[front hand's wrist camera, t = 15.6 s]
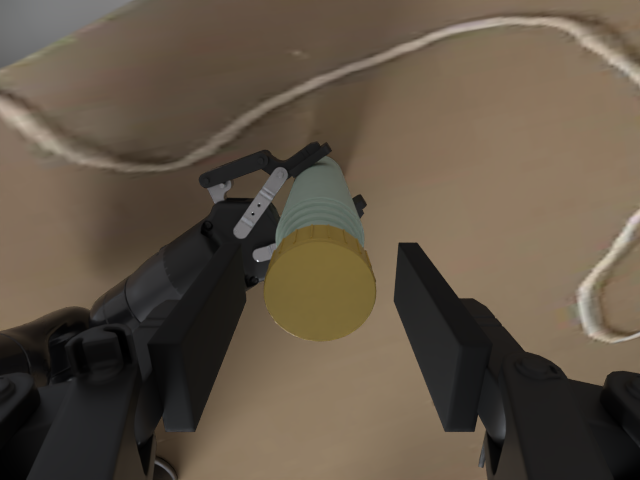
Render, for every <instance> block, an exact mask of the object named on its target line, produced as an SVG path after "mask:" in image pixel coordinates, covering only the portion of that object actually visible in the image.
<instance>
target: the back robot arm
mask: <svg viewBox="0 0 640 480" xmlns="http://www.w3.org/2000/svg"><path fill="white" fill-rule="evenodd" d="M331 151H332V150H331V148H330V146H329V145H328V143H327V142H326V143H324V144H323V145H321V146H320V144H319V143H318V141H316V142H312V143H310V144H309V145H307V146H306V147H304V148H303V149H302V150H300V151H299V152H297V153H296V154H295V155H293V156H292V157H290V158H289V159H288V160H285V161H282V160H279V159H277V158H276V157H274V156H273V155H272V154H271V153H270V151H268V150H262V151H259V152H256V153H254V154H251V155H248V156H246V157H243V158H240V159H238V160H235V161H232V162H230V163H227V164H224V165H222V166H219V167H216V168H214V169H211V170H209V171H207V172H205V173H204V174H202V175H201V176H200V177H199V183H200V185H201V186H202V187H204V188H207V189H208V191H209V193H210V195H211V197H212V199H213V201H214V203H215V205H214V206H213V208H212V210H211V212H210V214H209V215H208V216H207V217H206V218H204V219H203V220H202V221H200V222H199V223H198V224H196V225H195V226H193V227H192V228H191V229H189V230H188V231H186V232H185V233H184V234H182V235H181V236H179V237H178V238H177V239H175V240H174V241H173V242H171V243H170V244H168V245H165V246H164V247H162V248H161V249H160V250H159V251H158V252H157V253H156V254H154V255H153V256H151V257H150V258H149V259H148V260H147V261H145V262H144V263H143V264H142V265H141V266H140V267H139V268H138V269H137V270H136V271H135V272H134V273H133V274H131V275H130V276H128V277H127V278H126V279H124V280H123V281H121V282H120V283H119V284H117V285H116V286H114V287H113V288H112V289H110V290H109V291H107V292H106V293H105V294H103V295H102V296H101V297H100V298H99V299H98V300H97V301H96V302H95V303H94V304H93V306H92V308H91V310H89V309H86V308H83V307H78V306H73V307H66V308H62V309H59V310H57V311H54V312H51V313H49V314H47V315H45V316H43V317H40V318H38V319H36V320H34V321H32V322H29V323H26V324H23V325H21V326H17V327H14V328H11V329H7V330H3V331H0V376H1V375H5V374H11V373H17V372H19V373H28V374H30V375H31V376H32V377H33V378H34V380H35V383H36V386H37V388H39V387H44V386H48V385H53V384H58V383H62V382H67V381H71V380H72V379H73V377H74V376H73V373H72V369H71V366H70V363H69V360H68V357H67V353H66V350H65V347H64V346H65V345H66V344H67V343H68V342H69V341H70V339H72V338H73V337H75V336H76V335H78V334H79V333H81V332H83V331H86V330H88V329H90V328H93V327H97V326H101V325H105V324H116V323H118V324H123V325H127V326H128V327H129V328H131V331H132V333H133V332H134V330H135V329H136V328H138V327H139V325H140V323H141V322H142V321H143V320H145V318H146V316H147V315H148V314H149V313H150V312H151V310H152V309H153V308H154V307H156V306H158V305H159V304H161V303H162V302H164V301H166V300H180V299H181V298H182V297H183V295H184V294H185V293H186V291H187V290H188V289H189V287H190V286H191V285H192V283H193V282H194V281H195V279H196V278H197V277H198V275H199V274H200V273H201V271H202V270H203V269H204V267H205V266H206V265H207V263H208V262H209V261H210V259H211V258H212V257H213V255H214V254H215V253H216V251H217V250H218V249H219V247H220V246H221V245H222V243H241V245H242V256H243V268H244V280H245V291H247V290H249V289H250V288H252V287H254V286H255V285H256V284H258V283H259V282H262V281H264V279H265V276H266V273H267V270H268V267H269V263H270V260H271V257H272V254H273V251H274V250H276V230H277V226H278V223H279V221H280V217H279V215H278V212H277V210H276V208H275V206H274V205H273V204H272V202H271V201H272V199H273V198H274V196H275V195H276V194H277V192H278V191H279V189H280V188H281V186H282V185H283V184H284V182H285V181H286V180H287V179H289V178H290V177H291V176H293V177H294V178H295V177H296V176H298V175H299V174H300V173H302V172H303V171H305V170H306V169H308V168H309V167H310V166H312V165H313V164H315V163H316V162H318V161H319V160H320V159H322V158H323V157H325V156H326V155H328V154H329V153H330V152H331ZM259 169H262V170H264V171H265V172H267V173H268V174H269V175H271V176H270V177H269V179H268V180H267V182H266V183H265V184H264V186H263V187H262V189H261V190H260V192H259V193H258V194H257V196H256V197H255V198H227V196H226V193H227V191H228V190H229V189H231V188H232V187H233V185H234V181H233V179H235V178H238V177H240V176H243V175H246V174H248V173H251V172H254V171H256V170H259ZM352 200H353V202H354V205H355V208H356V210H357V213H358V216H359V218H361V217H362V215H363V214H364V212H363V210H362V209H363V208H365V207H366V205H367V204H366V202H365V200H364V199H363V197H362V196H361V194H360V195H357V196H356V197H354V198H352ZM153 480H177V475H176V473H175V471H174V469H173V468H172V467H171V466H170V465H169V464H168V463H167V462H165V461H164V460H162V459H160V458H158V457H156V456H155V463H154V472H153Z"/></svg>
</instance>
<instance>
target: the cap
mask: <svg viewBox="0 0 640 480" xmlns="http://www.w3.org/2000/svg"><path fill="white" fill-rule="evenodd" d="M371 267H372V266H371V263H370V260H369V257H368V254H367V251H366V250H364V249H363V247H362V245H361V244H360V243H359V241H358V239H357V238H356V239H355V238H354V237H353V236H352V235H351V234H349V233H348V232H346V231H345V229H343V230H342V229H340V228H337V227H334V226H330V224H328V225H313V224H311V226H306V227H303V228H300V229H295V231H294V232H292V233H291V234H289V235H288V236H287V237H285V238H283V239H282V241H281V243H280V244H279V245H278V247H277V249H276V250H274V251H273V254H272V257H271V260H270V263H269V267H268V270H267V273H266V276H265V279H264V282H265V283H264V299H265V304H266V307H267V309H268V311H269V313H270V315H271V317H272V318H273V319H274V321H275V322H276V323H277V324H278V325H279V326H280V327H281V328H282V329H284V330H285V331H287V332H288V333H290V334H292V335H294V336H296V337H299V338H301V339H305V340H310V341H330V340H335V339H338V338H341V337H344V336H346V335H348V334H350V333H352V332H353V331H355V330H356V329H357V328H359V327H360V326H361V325H362V324H363V323H364V322H365V321H366V319H367V318H368V316H369V315H370V313H371V311H372V309H373V306H374V304H375V299H376V284H375V282H376V280H375V277H374V274H373V271H372V268H371Z"/></svg>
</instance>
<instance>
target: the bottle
mask: <svg viewBox="0 0 640 480" xmlns="http://www.w3.org/2000/svg"><path fill="white" fill-rule="evenodd" d="M311 224H313V225H328V224H330V226H334V227H337V228H340V229H342V230H343V229H345V231H346V232H348V233H349V234H351V235H352V236H353V237H354V238H355V239H356V238H357V239H358V241H359V243H360V244H361V245H362V247H363V248H364V231H363V227H362V224H361V221H360V218H359V216H358V213H357V210H356V208H355V205H354V202H353V200H352V197H351V194H350V192H349V189H348V186H347V184H346V181H345V179H344V176H343V173H342V171H341V168H340V166H339V165H338V164H337V162H336V161H334V160H333V159H332V158H330V157H327V156H325V157H323V158H322V159H320V160H319V161H318V162H316V163H315V164H313V165H312V166H310V167H309V168H308V169H306V170H305V171H303V172H302V173H300V174H299V175H298V176H296V178H295V181H294V183H293V186H292V189H291V191H290V194H289V197H288V199H287V202H286V205H285V207H284V210H283V213H282V215H281V218H280V221H279V223H278V226H277V230H276V249H277V247H278V245H279V244H280V243H281V241H282V239H283V238H285V237H287V236H288V235H289V234H291V233H292V232H294V231H295V229H300V228H303V227H306V226H311Z"/></svg>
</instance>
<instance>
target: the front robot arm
mask: <svg viewBox="0 0 640 480" xmlns="http://www.w3.org/2000/svg"><path fill="white" fill-rule="evenodd" d="M245 303H246V291H245V280H244V268H243V256H242V245H241V243H222V245H221V246H220V247H219V249H218V250H217V251H216V253H215V254H214V255H213V257H212V258H211V259H210V261H209V262H208V263H207V265H206V266H205V267H204V269H203V270H202V271H201V273H200V274H199V275H198V277H197V278H196V279H195V281H194V282H193V283H192V285H191V286H190V287H189V289H188V290H187V291H186V293H185V294H184V295H183V297H182V298H181V299H180V300H166V301H164V302H162V303H161V304H159V305H158V306H156V307H154V308H153V309H152V310H151V312H150V313H149V314H148V315H147V316H146V318H145V320H143V321H142V322H141V323H140V325H139V327H138V328H136V329H135V330H134V332H133V333H132V331H131V328H129V327H128V326H127V325H123V324H118V323H116V324H105V325H101V326H97V327H93V328H90V329H88V330H86V331H83V332H81V333H79V334H78V335H76V336H75V337H73V338H72V339H70V341H69V342H68V343H67V344H66V345H65V346H64V347H65V350H66V353H67V357H68V360H69V363H70V366H71V369H72V373H73V376H74V377H73V379H72V380H71V381H67V382H62V383H58V384H53V385H48V386H44V387H39V388H37V386H36V383H35V380H34V378H33V377H32V376H31V375H30V374H28V373H19V372H17V373H11V374H5V375H1V376H0V480H153V472H154V463H155V455H156V446H157V444H156V437H155V432H154V430H155V428H156V426H157V424H158V422H159V420H160V418H161V417H163V422H164V427H165V431H166V432H195V430H196V428H197V425H198V423H199V420H200V418H201V415H202V413H203V410H204V407H205V405H206V402H207V400H208V397H209V395H210V392H211V390H212V387H213V385H214V382H215V379H216V377H217V374H218V372H219V369H220V367H221V364H222V362H223V359H224V357H225V354H226V351H227V349H228V346H229V344H230V341H231V339H232V336H233V334H234V331H235V328H236V326H237V323H238V321H239V318H240V316H241V313H242V311H243V308H244V306H245ZM394 303H395V306H396V308H397V311H398V313H399V316H400V318H401V321H402V323H403V326H404V328H405V331H406V334H407V336H408V339H409V341H410V344H411V346H412V349H413V351H414V354H415V357H416V359H417V362H418V364H419V367H420V369H421V372H422V374H423V377H424V379H425V382H426V385H427V387H428V390H429V392H430V395H431V397H432V400H433V402H434V405H435V407H436V410H437V413H438V415H439V418H440V420H441V423H442V425H443V428H444V430H445V432H474V431H475V427H476V422H477V417H478V415H479V417H480V419H481V420H482V422H483V424H484V426H485V428H486V432H485V437H484V441H483V446H482V450H481V455H480V459H479V467H482V468H483V467H484V462H486V471H487V479H488V480H640V374H638V373H633V372H627V371H616V372H612V373H610V374H609V375H607V378H606V380H605V383H604V386H599V385H594V384H590V383H585V382H580V381H575V380H571V379H568V378H567V377H566V375H565V374H564V372H563V371H562V370H561V368H559V367H558V366H557V365H555V364H554V363H553V362H551V361H550V360H547V359H545V358H543V357H541V356H539V355H536V354H532V353H529V352H525V351H524V350H523V349H522V347H521V346H520V345H519V344H518V343H517V342H516V340H515V339H514V338H513V337H512V336H511V335H510V333H509V332H508V331H507V330H506V329H505V328H504V327H502V324H501V323H500V322H499V321H498V320H497V318H495V316H494V315H493V314H492V313H491V311H490V310H489V309H488V308H487V307H486V306H484V305H483V304H481V303H480V302H478V301H476V300H475V299H473V298H458V297H457V295H456V294H455V293H454V291H453V290H452V289H451V287H450V286H449V285H448V283H447V282H446V281H445V279H444V278H443V277H442V275H441V274H440V273H439V271H438V270H437V269H436V267H435V266H434V265H433V263H432V262H431V261H430V259H429V258H428V257H427V255H426V254H425V253H424V251H423V250H422V249H421V247H420V246H419V245H418V243H399V245H398V256H397V268H396V280H395V291H394Z"/></svg>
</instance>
